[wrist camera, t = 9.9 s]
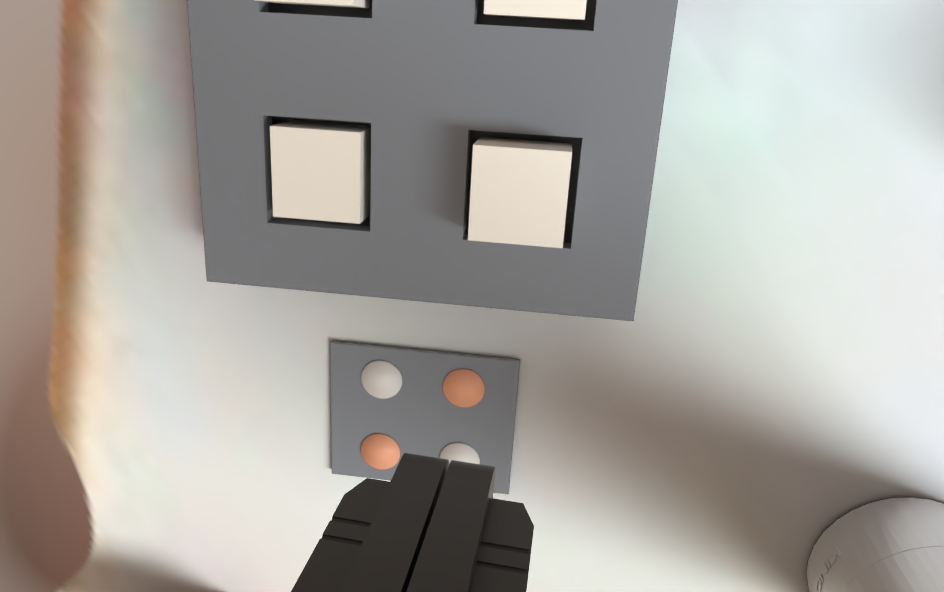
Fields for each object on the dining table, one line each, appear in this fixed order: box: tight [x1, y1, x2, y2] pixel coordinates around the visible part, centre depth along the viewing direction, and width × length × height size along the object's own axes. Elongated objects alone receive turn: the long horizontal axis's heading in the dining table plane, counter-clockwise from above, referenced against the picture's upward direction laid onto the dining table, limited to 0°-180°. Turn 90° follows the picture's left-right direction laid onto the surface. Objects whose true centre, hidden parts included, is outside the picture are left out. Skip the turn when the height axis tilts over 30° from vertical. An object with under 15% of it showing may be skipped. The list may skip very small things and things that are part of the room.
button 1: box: [468, 137, 572, 248], centre depth 31 cm, size 4×4×3 cm
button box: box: [187, 0, 678, 321], centre depth 32 cm, size 20×20×4 cm
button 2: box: [270, 120, 371, 224], centre depth 33 cm, size 4×4×3 cm
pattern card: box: [330, 341, 520, 494], centre depth 40 cm, size 10×8×1 cm
